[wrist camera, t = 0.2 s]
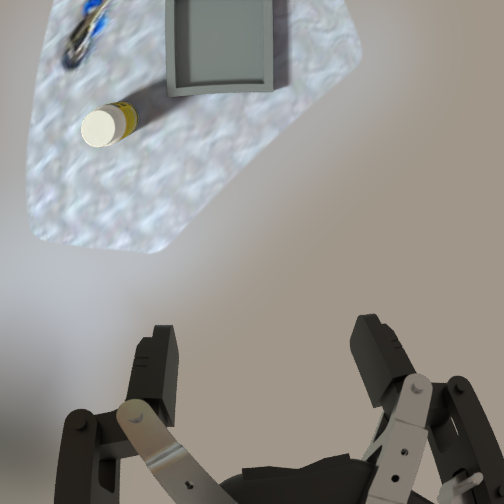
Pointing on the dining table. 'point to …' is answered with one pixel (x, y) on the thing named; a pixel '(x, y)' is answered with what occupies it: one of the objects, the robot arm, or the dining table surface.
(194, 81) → the tray
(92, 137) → the supplement bottle
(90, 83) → the dining table surface
